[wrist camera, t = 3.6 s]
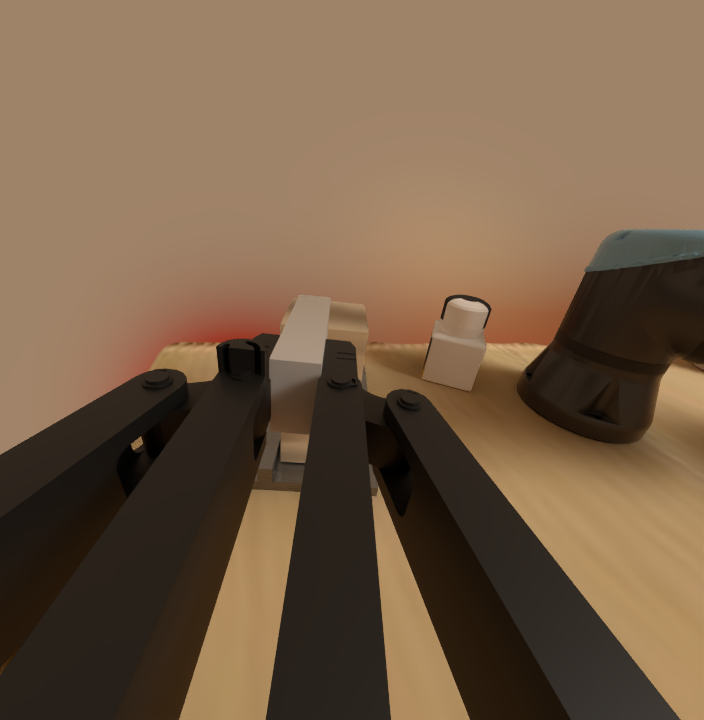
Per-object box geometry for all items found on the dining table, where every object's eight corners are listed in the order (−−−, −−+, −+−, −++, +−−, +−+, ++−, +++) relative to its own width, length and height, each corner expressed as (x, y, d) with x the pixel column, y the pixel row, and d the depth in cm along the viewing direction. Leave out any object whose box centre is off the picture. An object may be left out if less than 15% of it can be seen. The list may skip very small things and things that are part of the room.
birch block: (348, 465, 27) (368, 332, 21) (280, 461, 26) (280, 324, 20) (348, 421, 32) (364, 304, 26) (291, 417, 32) (293, 297, 25)
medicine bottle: (425, 359, 50) (444, 287, 44) (469, 369, 48) (495, 297, 42) (420, 379, 44) (441, 300, 38) (470, 393, 42) (500, 312, 36)
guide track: (376, 496, 26) (380, 476, 25) (245, 488, 25) (244, 467, 24) (362, 366, 45) (365, 352, 44) (289, 360, 44) (289, 345, 43)
